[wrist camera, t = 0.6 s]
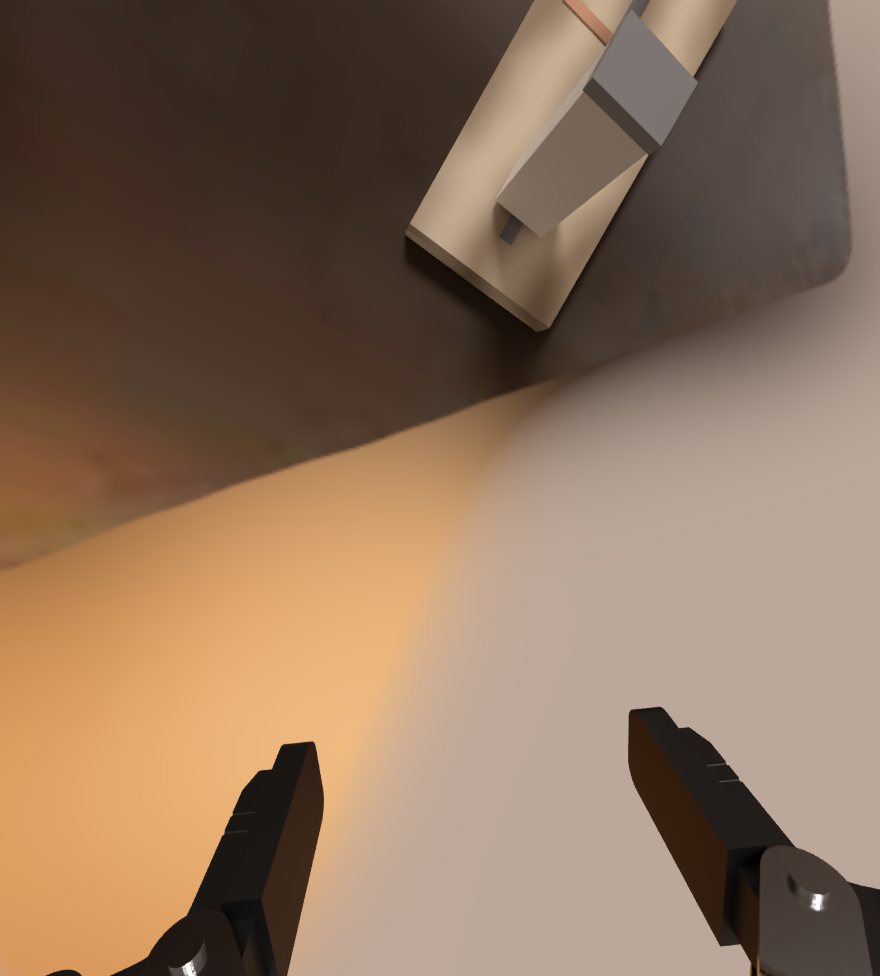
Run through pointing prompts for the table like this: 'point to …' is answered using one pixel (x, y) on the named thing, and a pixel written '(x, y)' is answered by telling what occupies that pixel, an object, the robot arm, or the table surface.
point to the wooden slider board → (509, 131)
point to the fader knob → (599, 128)
